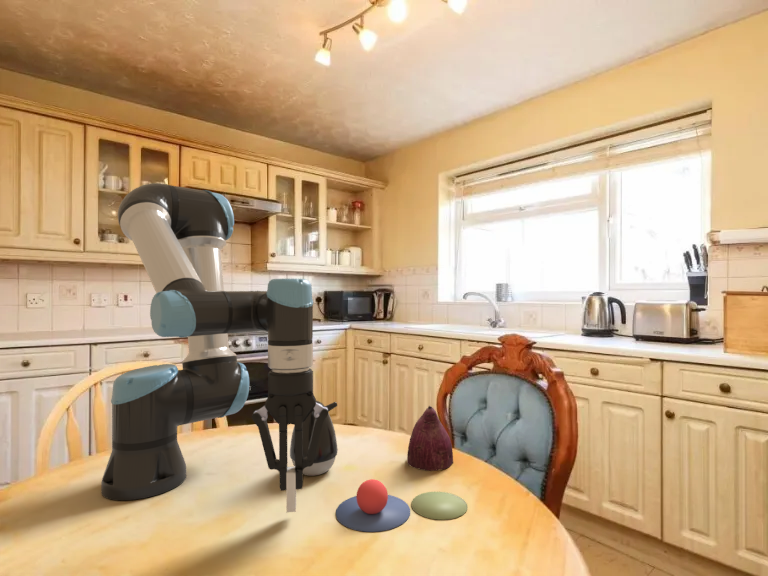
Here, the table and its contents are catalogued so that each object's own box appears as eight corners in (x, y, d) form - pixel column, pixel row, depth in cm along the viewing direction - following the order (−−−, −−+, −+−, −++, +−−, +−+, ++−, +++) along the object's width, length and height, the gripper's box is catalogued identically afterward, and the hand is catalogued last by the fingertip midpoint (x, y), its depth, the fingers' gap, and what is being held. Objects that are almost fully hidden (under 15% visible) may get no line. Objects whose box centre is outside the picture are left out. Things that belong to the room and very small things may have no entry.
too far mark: (419, 522, 72) (419, 521, 72) (406, 495, 81) (406, 494, 81) (476, 516, 73) (476, 515, 73) (456, 490, 83) (456, 489, 83)
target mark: (338, 535, 68) (338, 534, 68) (333, 497, 81) (333, 496, 81) (418, 527, 70) (418, 526, 70) (401, 491, 83) (401, 490, 83)
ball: (364, 525, 72) (354, 495, 72) (360, 509, 77) (350, 481, 77) (394, 512, 73) (384, 482, 73) (388, 497, 78) (379, 469, 78)
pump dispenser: (344, 475, 90) (343, 403, 91) (294, 484, 87) (294, 408, 87) (331, 459, 100) (331, 393, 100) (286, 465, 96) (286, 397, 96)
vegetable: (450, 486, 92) (457, 424, 88) (402, 476, 94) (408, 415, 91) (453, 456, 102) (460, 400, 98) (410, 448, 104) (416, 392, 101)
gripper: (247, 374, 69) (248, 523, 68) (330, 371, 71) (331, 515, 70) (254, 366, 76) (254, 501, 76) (328, 364, 78) (329, 494, 78)
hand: (291, 508), depth 73 cm, fingers closed
